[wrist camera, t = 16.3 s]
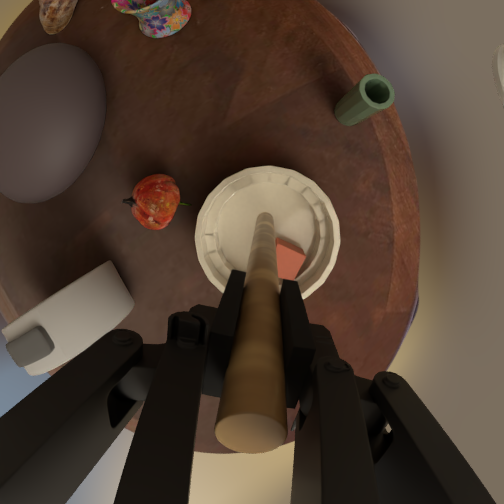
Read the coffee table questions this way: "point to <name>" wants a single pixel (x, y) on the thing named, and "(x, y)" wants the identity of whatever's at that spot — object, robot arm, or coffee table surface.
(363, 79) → the holder
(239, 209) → the bowl
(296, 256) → the block
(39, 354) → the alarm clock
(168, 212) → the pomegranate
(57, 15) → the seashell
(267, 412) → the stick
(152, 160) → the coffee table surface
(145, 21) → the mug
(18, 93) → the flattened ellipsoid
